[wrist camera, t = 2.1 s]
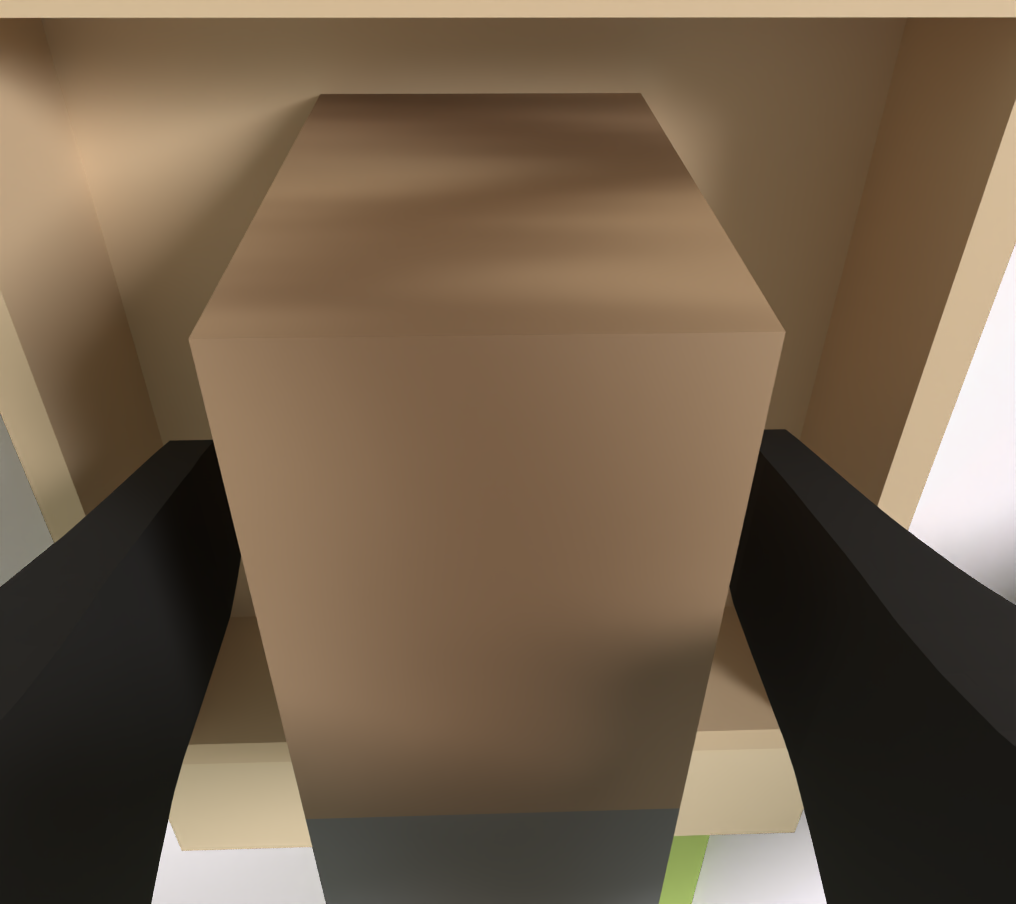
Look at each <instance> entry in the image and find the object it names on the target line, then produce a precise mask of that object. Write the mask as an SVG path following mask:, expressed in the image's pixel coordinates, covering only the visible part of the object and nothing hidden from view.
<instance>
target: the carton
mask: <svg viewBox="0 0 1016 904" xmlns="http://www.w3.org/2000/svg"><path fill="white" fill-rule="evenodd" d="M476 93H641V94H642V96H643V98H644V99H645V101H646V103H647V104H648V106H649V108H650V109H651V111H652V112H653V114H654V116H655V117H656V119H657V121H658V122H659V124H660V126H661V127H662V129H663V131H664V132H665V134H666V136H667V137H668V139H669V140H670V142H671V144H672V145H673V147H674V149H675V150H676V152H677V154H678V155H679V157H680V159H681V160H682V162H683V164H684V165H685V167H686V168H687V170H688V172H689V173H690V175H691V177H692V178H693V180H694V182H695V183H696V185H697V187H698V188H699V190H700V192H701V193H702V195H703V196H704V198H705V200H706V201H707V203H708V205H709V206H710V208H711V210H712V211H713V213H714V215H715V216H716V218H717V220H718V221H719V223H720V224H721V226H722V228H723V229H724V231H725V233H726V234H727V236H728V238H729V239H730V241H731V243H732V244H733V246H734V248H735V249H736V251H737V252H738V254H739V256H740V257H741V259H742V261H743V262H744V264H745V266H746V267H747V269H748V271H749V272H750V274H751V276H752V277H753V279H754V280H755V282H756V284H757V285H758V287H759V289H760V290H761V292H762V294H763V295H764V297H765V299H766V300H767V302H768V304H769V305H770V307H771V308H772V310H773V312H774V313H775V315H776V317H777V318H778V320H779V322H780V323H781V325H782V327H783V328H784V330H785V332H786V333H785V337H784V342H783V346H782V351H781V355H780V360H779V364H778V369H777V373H776V378H775V382H774V387H773V391H772V396H771V400H770V405H769V409H768V414H767V418H766V423H765V427H764V429H786V430H787V431H788V432H790V433H791V434H792V435H794V436H795V437H796V438H797V439H799V440H800V441H801V442H802V443H803V444H805V445H806V446H807V447H808V448H809V449H810V450H812V451H813V452H814V453H815V454H816V455H817V456H819V457H820V458H821V459H822V460H823V461H824V462H826V463H827V464H828V465H829V466H830V467H831V468H833V469H834V470H835V471H836V472H837V473H838V474H840V475H841V476H842V477H843V478H844V479H845V480H847V481H848V482H849V483H850V484H851V485H852V486H854V487H855V488H856V489H857V490H858V491H859V492H861V493H862V494H863V495H864V496H865V497H867V498H868V499H869V500H870V501H871V502H873V503H874V504H875V505H876V506H878V507H879V508H880V509H881V510H882V511H884V512H885V513H886V514H887V515H889V516H890V517H891V518H892V519H894V520H895V521H896V522H897V523H899V524H900V525H901V526H902V527H904V528H905V529H906V530H908V529H909V526H910V523H911V521H912V518H913V515H914V513H915V510H916V507H917V505H918V502H919V499H920V497H921V494H922V491H923V489H924V486H925V483H926V481H927V478H928V475H929V473H930V470H931V467H932V465H933V462H934V459H935V457H936V454H937V451H938V449H939V446H940V443H941V441H942V438H943V435H944V433H945V430H946V427H947V425H948V422H949V419H950V417H951V414H952V411H953V409H954V406H955V403H956V401H957V398H958V395H959V393H960V390H961V387H962V385H963V382H964V379H965V377H966V374H967V371H968V369H969V366H970V363H971V361H972V358H973V355H974V353H975V350H976V347H977V345H978V342H979V339H980V337H981V334H982V331H983V329H984V326H985V323H986V321H987V318H988V315H989V313H990V310H991V307H992V305H993V302H994V299H995V297H996V294H997V291H998V289H999V286H1000V283H1001V281H1002V278H1003V275H1004V273H1005V270H1006V267H1007V265H1008V262H1009V259H1010V257H1011V254H1012V251H1013V249H1014V246H1015V243H1016V0H0V414H1V416H2V419H3V421H4V423H5V426H6V428H7V431H8V433H9V435H10V438H11V440H12V443H13V445H14V447H15V450H16V452H17V455H18V457H19V460H20V462H21V464H22V467H23V469H24V472H25V474H26V476H27V479H28V481H29V484H30V486H31V488H32V491H33V493H34V496H35V498H36V500H37V503H38V505H39V508H40V510H41V513H42V515H43V517H44V520H45V522H46V525H47V527H48V529H49V532H50V534H51V537H52V539H53V541H54V543H55V542H56V541H58V540H59V539H60V538H61V537H63V536H64V535H65V534H66V533H67V532H68V531H70V530H71V529H72V528H73V527H74V526H75V525H76V524H77V523H79V522H80V521H81V520H82V519H83V518H84V517H85V516H86V515H87V514H89V513H90V512H91V511H92V510H93V509H94V508H95V507H96V506H98V505H99V504H100V503H101V502H102V501H103V500H104V499H105V498H107V497H108V496H109V495H110V494H111V493H112V492H113V491H114V490H115V489H116V488H117V487H119V486H120V485H121V484H122V483H123V482H124V481H125V480H126V479H127V478H128V477H129V476H130V475H132V474H133V473H134V472H135V471H136V470H137V469H138V468H139V467H140V466H141V465H142V464H144V463H145V462H146V461H147V460H148V459H149V458H150V457H151V456H152V455H153V454H155V453H156V452H157V451H158V450H159V449H160V448H161V447H163V446H164V445H165V444H166V443H167V442H169V441H170V440H213V438H212V434H211V429H210V425H209V421H208V417H207V413H206V409H205V405H204V401H203V397H202V393H201V388H200V384H199V380H198V376H197V372H196V368H195V364H194V360H193V356H192V351H191V347H190V343H189V337H190V335H191V333H192V331H193V330H194V328H195V326H196V324H197V322H198V320H199V318H200V317H201V315H202V313H203V311H204V309H205V307H206V305H207V304H208V302H209V300H210V298H211V296H212V294H213V292H214V291H215V289H216V287H217V285H218V283H219V281H220V279H221V278H222V276H223V274H224V272H225V270H226V268H227V267H228V265H229V263H230V261H231V259H232V257H233V255H234V254H235V252H236V250H237V248H238V246H239V244H240V242H241V241H242V239H243V237H244V235H245V233H246V231H247V229H248V228H249V226H250V224H251V222H252V220H253V218H254V216H255V215H256V213H257V211H258V209H259V207H260V205H261V203H262V202H263V200H264V198H265V196H266V194H267V192H268V190H269V189H270V187H271V185H272V183H273V181H274V179H275V177H276V176H277V174H278V172H279V170H280V168H281V166H282V164H283V163H284V161H285V159H286V157H287V155H288V153H289V151H290V150H291V148H292V146H293V144H294V142H295V140H296V138H297V137H298V135H299V133H300V131H301V129H302V127H303V125H304V124H305V122H306V120H307V118H308V116H309V114H310V112H311V111H312V109H313V107H314V105H315V103H316V101H317V99H318V98H319V96H320V94H476ZM803 809H804V807H803V803H802V799H801V796H800V792H799V788H798V784H797V780H796V776H795V773H794V769H793V766H792V763H791V760H790V757H789V754H788V751H787V748H786V745H785V742H784V739H783V736H782V733H781V731H780V728H779V726H778V723H777V720H776V718H775V715H774V712H773V710H772V707H771V704H770V702H769V699H768V696H767V694H766V691H765V688H764V686H763V683H762V680H761V678H760V675H759V672H758V670H757V667H756V664H755V662H754V659H753V656H752V654H751V651H750V648H749V646H748V643H747V640H746V637H745V635H744V632H743V629H742V627H741V624H740V621H739V618H738V616H737V613H736V610H735V607H734V604H733V601H732V596H731V592H730V588H729V590H728V594H727V599H726V603H725V608H724V612H723V617H722V621H721V626H720V630H719V635H718V639H717V644H716V648H715V653H714V657H713V662H712V666H711V671H710V675H709V680H708V684H707V689H706V693H705V698H704V702H703V707H702V711H701V716H700V720H699V725H698V729H697V734H696V738H695V743H694V747H693V752H692V756H691V761H690V765H689V770H688V774H687V779H686V783H685V788H684V792H683V797H682V801H681V806H680V810H679V815H678V819H677V824H676V828H675V833H674V836H693V835H727V834H760V833H794V832H795V830H796V827H797V825H798V822H799V819H800V817H801V814H802V811H803ZM169 821H170V823H171V826H172V828H173V831H174V833H175V835H176V838H177V840H178V843H179V845H180V847H181V850H182V851H191V850H225V849H258V848H292V847H312V844H311V840H310V836H309V831H308V827H307V823H306V819H305V815H304V811H303V807H302V803H301V799H300V795H299V790H298V786H297V782H296V778H295V774H294V770H293V766H292V762H291V758H290V754H289V749H288V745H287V741H286V737H285V733H284V729H283V725H282V721H281V717H280V712H279V708H278V704H277V700H276V696H275V692H274V688H273V684H272V680H271V676H270V671H269V667H268V663H267V659H266V655H265V651H264V647H263V643H262V639H261V635H260V630H259V626H258V622H257V618H256V614H255V610H254V606H253V602H252V598H251V594H250V589H249V585H248V581H247V577H246V573H245V569H244V565H243V561H242V557H241V561H240V567H239V573H238V579H237V585H236V590H235V596H234V601H233V606H232V611H231V616H230V619H229V622H228V626H227V629H226V632H225V635H224V638H223V641H222V644H221V648H220V651H219V654H218V657H217V660H216V663H215V666H214V669H213V672H212V675H211V678H210V681H209V684H208V687H207V690H206V693H205V696H204V699H203V702H202V705H201V708H200V711H199V714H198V717H197V720H196V723H195V727H194V730H193V733H192V736H191V739H190V742H189V745H188V748H187V751H186V754H185V757H184V760H183V763H182V767H181V770H180V774H179V778H178V781H177V785H176V788H175V792H174V796H173V801H172V805H171V810H170V815H169Z"/></svg>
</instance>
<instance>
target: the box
mask: <svg viewBox="0 0 1016 904" xmlns="http://www.w3.org/2000/svg"><path fill="white" fill-rule="evenodd" d="M785 333H786V332H785V330H784V328H783V327H782V325H781V323H780V322H779V320H778V318H777V317H776V315H775V313H774V312H773V310H772V308H771V307H770V305H769V304H768V302H767V300H766V299H765V297H764V295H763V294H762V292H761V290H760V289H759V287H758V285H757V284H756V282H755V280H754V279H753V277H752V276H751V274H750V272H749V271H748V269H747V267H746V266H745V264H744V262H743V261H742V259H741V257H740V256H739V254H738V252H737V251H736V249H735V248H734V246H733V244H732V243H731V241H730V239H729V238H728V236H727V234H726V233H725V231H724V229H723V228H722V226H721V224H720V223H719V221H718V220H717V218H716V216H715V215H714V213H713V211H712V210H711V208H710V206H709V205H708V203H707V201H706V200H705V198H704V196H703V195H702V193H701V192H700V190H699V188H698V187H697V185H696V183H695V182H694V180H693V178H692V177H691V175H690V173H689V172H688V170H687V168H686V167H685V165H684V164H683V162H682V160H681V159H680V157H679V155H678V154H677V152H676V150H675V149H674V147H673V145H672V144H671V142H670V140H669V139H668V137H667V136H666V134H665V132H664V131H663V129H662V127H661V126H660V124H659V122H658V121H657V119H656V117H655V116H654V114H653V112H652V111H651V109H650V108H649V106H648V104H647V103H646V101H645V99H644V98H643V96H642V94H641V93H476V94H320V96H319V98H318V99H317V101H316V103H315V105H314V107H313V109H312V111H311V112H310V114H309V116H308V118H307V120H306V122H305V124H304V125H303V127H302V129H301V131H300V133H299V135H298V137H297V138H296V140H295V142H294V144H293V146H292V148H291V150H290V151H289V153H288V155H287V157H286V159H285V161H284V163H283V164H282V166H281V168H280V170H279V172H278V174H277V176H276V177H275V179H274V181H273V183H272V185H271V187H270V189H269V190H268V192H267V194H266V196H265V198H264V200H263V202H262V203H261V205H260V207H259V209H258V211H257V213H256V215H255V216H254V218H253V220H252V222H251V224H250V226H249V228H248V229H247V231H246V233H245V235H244V237H243V239H242V241H241V242H240V244H239V246H238V248H237V250H236V252H235V254H234V255H233V257H232V259H231V261H230V263H229V265H228V267H227V268H226V270H225V272H224V274H223V276H222V278H221V279H220V281H219V283H218V285H217V287H216V289H215V291H214V292H213V294H212V296H211V298H210V300H209V302H208V304H207V305H206V307H205V309H204V311H203V313H202V315H201V317H200V318H199V320H198V322H197V324H196V326H195V328H194V330H193V331H192V333H191V335H190V337H189V343H190V347H191V351H192V356H193V360H194V364H195V368H196V372H197V376H198V380H199V384H200V388H201V393H202V397H203V401H204V405H205V409H206V413H207V417H208V421H209V425H210V429H211V434H212V438H213V442H214V446H215V450H216V454H217V458H218V462H219V466H220V470H221V475H222V479H223V483H224V487H225V491H226V495H227V499H228V503H229V507H230V511H231V516H232V520H233V524H234V528H235V532H236V536H237V540H238V544H239V548H240V552H241V557H242V561H243V565H244V569H245V573H246V577H247V581H248V585H249V589H250V594H251V598H252V602H253V606H254V610H255V614H256V618H257V622H258V626H259V630H260V635H261V639H262V643H263V647H264V651H265V655H266V659H267V663H268V667H269V671H270V676H271V680H272V684H273V688H274V692H275V696H276V700H277V704H278V708H279V712H280V717H281V721H282V725H283V729H284V733H285V737H286V741H287V745H288V749H289V754H290V758H291V762H292V766H293V770H294V774H295V778H296V782H297V786H298V790H299V795H300V799H301V803H302V807H303V811H304V815H305V819H306V823H307V827H308V831H309V836H310V840H311V844H312V848H313V852H314V856H315V860H316V864H317V868H318V872H319V877H320V881H321V885H322V889H323V893H324V897H325V901H326V904H659V900H660V896H661V891H662V887H663V882H664V878H665V873H666V869H667V864H668V860H669V855H670V851H671V846H672V842H673V837H674V833H675V828H676V824H677V819H678V815H679V810H680V806H681V801H682V797H683V792H684V788H685V783H686V779H687V774H688V770H689V765H690V761H691V756H692V752H693V747H694V743H695V738H696V734H697V729H698V725H699V720H700V716H701V711H702V707H703V702H704V698H705V693H706V689H707V684H708V680H709V675H710V671H711V666H712V662H713V657H714V653H715V648H716V644H717V639H718V635H719V630H720V626H721V621H722V617H723V612H724V608H725V603H726V599H727V594H728V590H729V585H730V581H731V576H732V572H733V567H734V563H735V558H736V554H737V549H738V545H739V540H740V536H741V531H742V527H743V522H744V518H745V513H746V509H747V504H748V499H749V495H750V490H751V486H752V481H753V477H754V472H755V468H756V463H757V459H758V454H759V450H760V445H761V441H762V436H763V432H764V427H765V423H766V418H767V414H768V409H769V405H770V400H771V396H772V391H773V387H774V382H775V378H776V373H777V369H778V364H779V360H780V355H781V351H782V346H783V342H784V337H785Z"/></svg>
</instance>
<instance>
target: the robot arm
mask: <svg viewBox="0 0 1016 904" xmlns="http://www.w3.org/2000/svg"><path fill="white" fill-rule="evenodd" d="M240 561H241V552H240V548H239V544H238V540H237V536H236V532H235V528H234V524H233V520H232V516H231V511H230V507H229V503H228V499H227V495H226V491H225V487H224V483H223V479H222V475H221V470H220V466H219V462H218V458H217V454H216V450H215V446H214V442H213V440H170V441H169V442H167V443H166V444H165V445H164V446H163V447H161V448H160V449H159V450H158V451H157V452H156V453H155V454H153V455H152V456H151V457H150V458H149V459H148V460H147V461H146V462H145V463H144V464H142V465H141V466H140V467H139V468H138V469H137V470H136V471H135V472H134V473H133V474H132V475H130V476H129V477H128V478H127V479H126V480H125V481H124V482H123V483H122V484H121V485H120V486H119V487H117V488H116V489H115V490H114V491H113V492H112V493H111V494H110V495H109V496H108V497H107V498H105V499H104V500H103V501H102V502H101V503H100V504H99V505H98V506H96V507H95V508H94V509H93V510H92V511H91V512H90V513H89V514H87V515H86V516H85V517H84V518H83V519H82V520H81V521H80V522H79V523H77V524H76V525H75V526H74V527H73V528H72V529H71V530H70V531H68V532H67V533H66V534H65V535H64V536H63V537H61V538H60V539H59V540H58V541H56V542H55V543H54V544H53V545H51V546H50V547H49V548H48V549H47V550H45V551H44V552H43V553H42V554H40V555H39V556H38V557H37V558H35V559H34V560H33V561H32V562H31V563H29V564H28V565H27V566H26V567H24V568H23V569H22V570H21V571H19V572H18V573H17V574H16V575H15V576H13V577H12V578H11V579H10V580H8V581H7V582H6V583H5V584H3V585H2V586H1V587H0V904H151V902H152V897H153V891H154V886H155V881H156V876H157V871H158V866H159V861H160V856H161V852H162V847H163V842H164V838H165V833H166V828H167V824H168V819H169V815H170V810H171V805H172V801H173V796H174V792H175V788H176V785H177V781H178V778H179V774H180V770H181V767H182V763H183V760H184V757H185V754H186V751H187V748H188V745H189V742H190V739H191V736H192V733H193V730H194V727H195V723H196V720H197V717H198V714H199V711H200V708H201V705H202V702H203V699H204V696H205V693H206V690H207V687H208V684H209V681H210V678H211V675H212V672H213V669H214V666H215V663H216V660H217V657H218V654H219V651H220V648H221V644H222V641H223V638H224V635H225V632H226V629H227V626H228V622H229V619H230V616H231V611H232V606H233V601H234V596H235V590H236V585H237V579H238V573H239V567H240ZM729 588H730V592H731V596H732V601H733V604H734V607H735V610H736V613H737V616H738V618H739V621H740V624H741V627H742V629H743V632H744V635H745V637H746V640H747V643H748V646H749V648H750V651H751V654H752V656H753V659H754V662H755V664H756V667H757V670H758V672H759V675H760V678H761V680H762V683H763V686H764V688H765V691H766V694H767V696H768V699H769V702H770V704H771V707H772V710H773V712H774V715H775V718H776V720H777V723H778V726H779V728H780V731H781V733H782V736H783V739H784V742H785V745H786V748H787V751H788V754H789V757H790V760H791V763H792V766H793V769H794V773H795V776H796V780H797V784H798V788H799V792H800V796H801V799H802V803H803V807H804V811H805V815H806V819H807V823H808V826H809V830H810V834H811V838H812V842H813V846H814V851H815V855H816V859H817V863H818V868H819V872H820V876H821V880H822V884H823V889H824V893H825V897H826V901H827V904H1016V605H1014V604H1013V603H1011V602H1009V601H1008V600H1006V599H1005V598H1003V597H1001V596H1000V595H998V594H997V593H995V592H993V591H992V590H990V589H989V588H987V587H986V586H984V585H982V584H981V583H979V582H978V581H977V580H975V579H974V578H972V577H971V576H969V575H968V574H966V573H965V572H963V571H962V570H960V569H959V568H957V567H956V566H955V565H953V564H952V563H951V562H949V561H948V560H947V559H945V558H944V557H942V556H941V555H940V554H938V553H937V552H936V551H934V550H933V549H931V548H930V547H929V546H927V545H926V544H925V543H923V542H922V541H921V540H919V539H918V538H917V537H915V536H914V535H913V534H911V533H910V532H909V531H908V530H906V529H905V528H904V527H902V526H901V525H900V524H899V523H897V522H896V521H895V520H894V519H892V518H891V517H890V516H889V515H887V514H886V513H885V512H884V511H882V510H881V509H880V508H879V507H878V506H876V505H875V504H874V503H873V502H871V501H870V500H869V499H868V498H867V497H865V496H864V495H863V494H862V493H861V492H859V491H858V490H857V489H856V488H855V487H854V486H852V485H851V484H850V483H849V482H848V481H847V480H845V479H844V478H843V477H842V476H841V475H840V474H838V473H837V472H836V471H835V470H834V469H833V468H831V467H830V466H829V465H828V464H827V463H826V462H824V461H823V460H822V459H821V458H820V457H819V456H817V455H816V454H815V453H814V452H813V451H812V450H810V449H809V448H808V447H807V446H806V445H805V444H803V443H802V442H801V441H800V440H799V439H797V438H796V437H795V436H794V435H792V434H791V433H790V432H788V431H787V430H786V429H764V432H763V436H762V441H761V445H760V450H759V454H758V459H757V463H756V468H755V472H754V477H753V481H752V486H751V490H750V495H749V499H748V504H747V509H746V513H745V518H744V522H743V527H742V531H741V536H740V540H739V545H738V549H737V554H736V558H735V563H734V567H733V572H732V576H731V581H730V585H729Z"/></svg>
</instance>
